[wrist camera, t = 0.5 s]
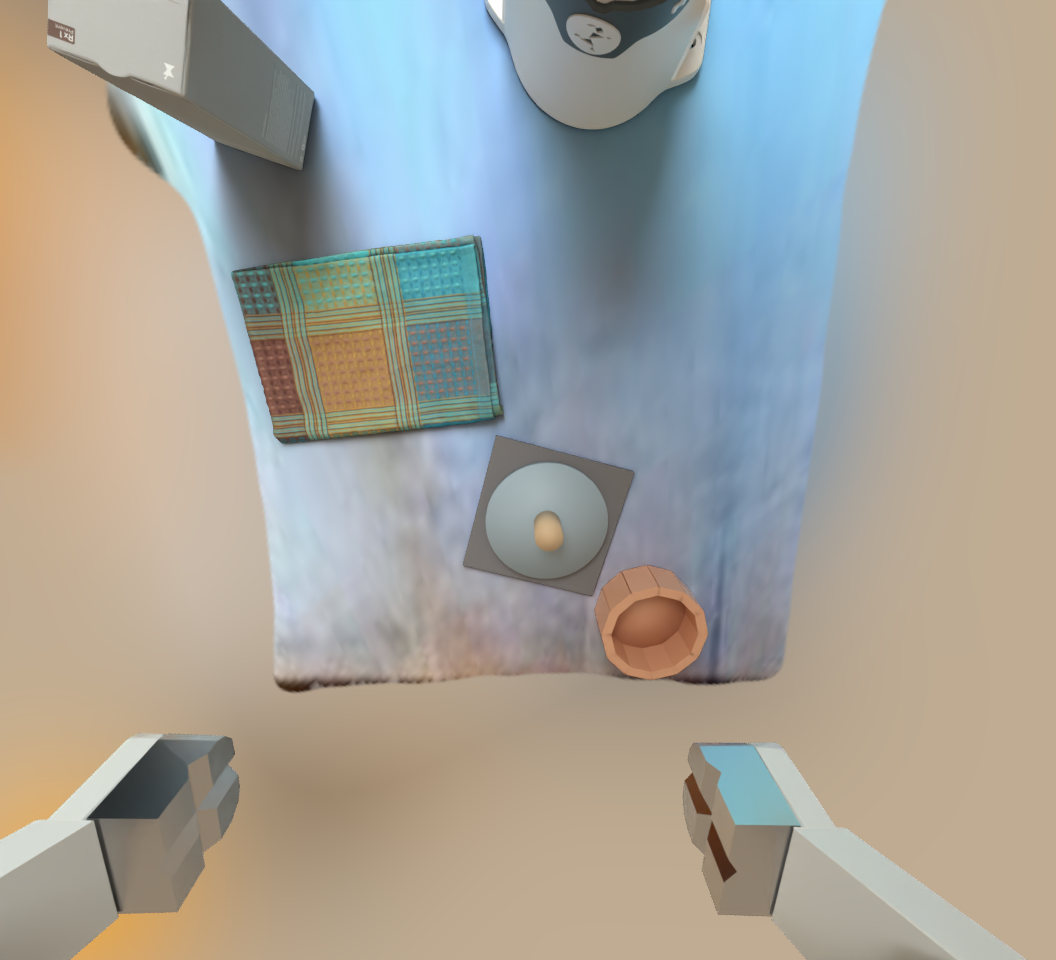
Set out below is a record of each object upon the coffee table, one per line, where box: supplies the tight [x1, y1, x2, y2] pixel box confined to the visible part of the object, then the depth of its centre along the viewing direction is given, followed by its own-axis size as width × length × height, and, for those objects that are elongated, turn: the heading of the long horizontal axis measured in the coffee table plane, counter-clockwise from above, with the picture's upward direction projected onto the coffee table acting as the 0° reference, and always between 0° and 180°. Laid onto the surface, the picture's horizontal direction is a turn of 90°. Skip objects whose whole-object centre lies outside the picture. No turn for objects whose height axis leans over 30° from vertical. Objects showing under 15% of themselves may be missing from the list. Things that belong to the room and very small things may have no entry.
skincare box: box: [47, 0, 314, 170], centre depth 35 cm, size 8×7×16 cm
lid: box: [486, 462, 608, 579], centre depth 50 cm, size 13×13×5 cm
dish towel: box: [231, 235, 503, 443], centre depth 47 cm, size 17×23×2 cm
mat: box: [463, 435, 634, 596], centre depth 53 cm, size 15×15×1 cm
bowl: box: [595, 565, 708, 680], centre depth 54 cm, size 11×11×5 cm
